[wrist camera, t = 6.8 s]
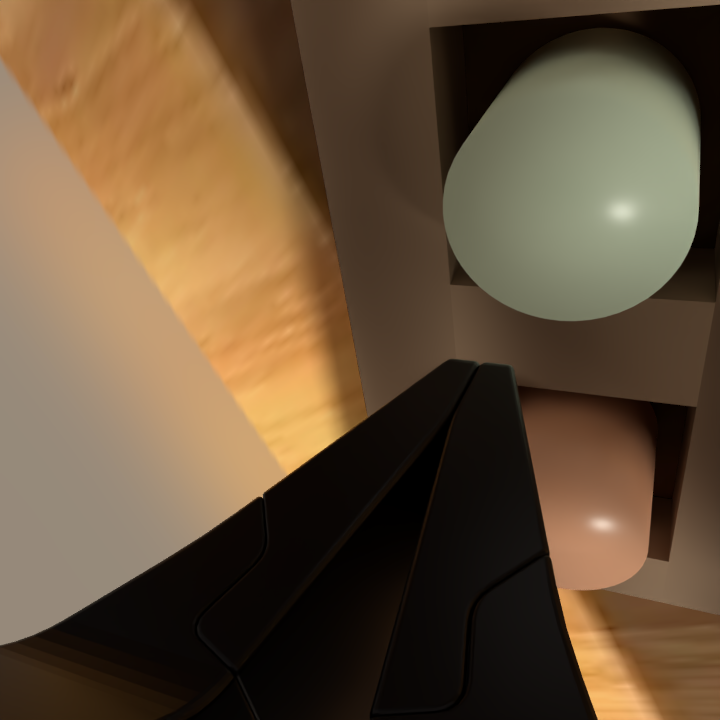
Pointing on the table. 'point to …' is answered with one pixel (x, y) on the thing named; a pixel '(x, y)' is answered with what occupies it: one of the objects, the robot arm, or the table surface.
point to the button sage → (580, 178)
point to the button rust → (592, 482)
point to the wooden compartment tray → (459, 292)
